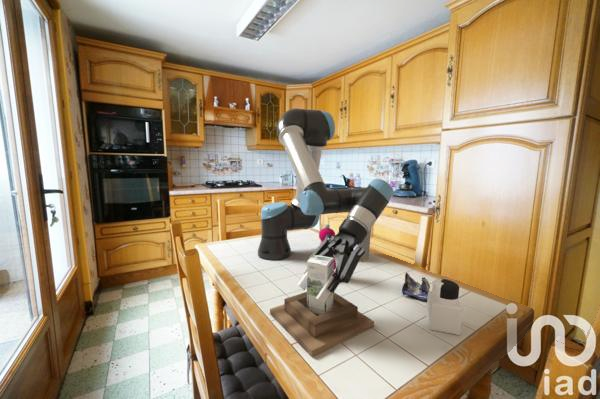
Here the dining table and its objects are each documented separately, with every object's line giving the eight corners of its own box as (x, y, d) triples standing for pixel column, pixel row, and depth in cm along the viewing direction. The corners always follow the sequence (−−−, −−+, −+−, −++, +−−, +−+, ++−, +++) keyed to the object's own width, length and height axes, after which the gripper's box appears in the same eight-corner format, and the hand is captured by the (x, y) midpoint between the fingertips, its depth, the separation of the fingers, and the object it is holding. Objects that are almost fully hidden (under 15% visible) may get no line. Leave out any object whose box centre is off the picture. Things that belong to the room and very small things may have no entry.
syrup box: (333, 307, 74) (334, 256, 72) (326, 318, 69) (327, 264, 67) (314, 302, 76) (314, 253, 74) (306, 313, 71) (306, 260, 69)
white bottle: (454, 320, 73) (458, 278, 72) (460, 336, 67) (465, 290, 65) (425, 315, 76) (429, 274, 74) (429, 330, 69) (432, 285, 67)
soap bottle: (339, 251, 128) (340, 207, 125) (366, 251, 127) (368, 207, 124) (342, 261, 115) (344, 213, 112) (373, 262, 114) (375, 213, 111)
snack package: (443, 295, 88) (410, 281, 97) (444, 278, 86) (410, 265, 95) (424, 313, 81) (390, 296, 90) (424, 295, 79) (390, 279, 88)
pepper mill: (335, 281, 96) (336, 227, 93) (315, 279, 98) (315, 225, 95) (336, 273, 103) (337, 222, 100) (317, 271, 105) (318, 221, 102)
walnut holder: (269, 313, 76) (269, 297, 75) (325, 294, 87) (325, 280, 86) (311, 357, 59) (311, 336, 58) (373, 326, 70) (374, 308, 69)
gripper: (392, 242, 70) (344, 319, 63) (339, 225, 87) (297, 285, 80) (379, 224, 66) (327, 305, 60) (326, 211, 83) (281, 272, 77)
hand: (309, 294), depth 70 cm, fingers closed on syrup box, 8 cm apart
